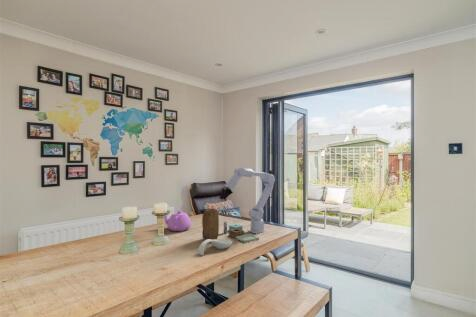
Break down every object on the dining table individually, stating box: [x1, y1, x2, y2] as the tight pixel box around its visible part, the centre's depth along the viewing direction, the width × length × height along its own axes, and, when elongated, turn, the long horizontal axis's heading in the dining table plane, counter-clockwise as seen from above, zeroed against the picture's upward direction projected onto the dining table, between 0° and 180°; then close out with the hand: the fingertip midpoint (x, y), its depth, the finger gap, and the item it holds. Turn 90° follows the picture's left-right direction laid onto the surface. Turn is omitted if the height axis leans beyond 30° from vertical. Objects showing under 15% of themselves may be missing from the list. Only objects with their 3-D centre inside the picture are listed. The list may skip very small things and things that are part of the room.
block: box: [201, 208, 220, 241], centre depth 174 cm, size 11×8×20 cm
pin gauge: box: [223, 221, 228, 235], centre depth 190 cm, size 2×2×8 cm
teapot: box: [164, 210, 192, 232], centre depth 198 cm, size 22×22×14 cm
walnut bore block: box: [228, 228, 245, 239], centre depth 184 cm, size 7×7×4 cm
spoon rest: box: [197, 238, 233, 257], centre depth 157 cm, size 24×12×7 cm, turn 140°
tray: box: [235, 233, 260, 244], centre depth 178 cm, size 12×9×2 cm
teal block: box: [228, 223, 243, 231], centre depth 196 cm, size 7×7×4 cm
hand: (222, 198), depth 181 cm, fingers open, 7 cm apart
